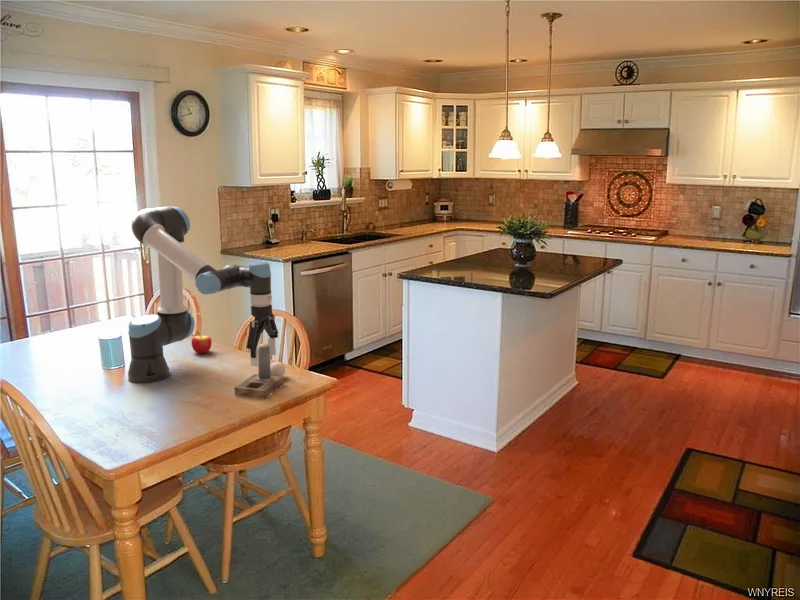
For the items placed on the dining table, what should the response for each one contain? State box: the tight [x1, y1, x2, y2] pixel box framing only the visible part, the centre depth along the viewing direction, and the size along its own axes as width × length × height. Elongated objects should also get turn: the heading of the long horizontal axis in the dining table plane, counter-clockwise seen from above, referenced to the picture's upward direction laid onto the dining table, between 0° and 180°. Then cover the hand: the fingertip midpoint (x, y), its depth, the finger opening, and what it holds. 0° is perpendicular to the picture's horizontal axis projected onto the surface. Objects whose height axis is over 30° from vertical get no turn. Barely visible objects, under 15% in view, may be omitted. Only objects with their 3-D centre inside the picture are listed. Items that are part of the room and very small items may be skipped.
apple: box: [191, 331, 212, 355], centre depth 277 cm, size 8×8×10 cm
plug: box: [257, 343, 271, 380], centre depth 238 cm, size 4×4×13 cm
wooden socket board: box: [234, 373, 285, 400], centre depth 236 cm, size 12×15×3 cm
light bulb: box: [270, 361, 286, 377], centre depth 247 cm, size 7×7×11 cm
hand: (263, 360), depth 238 cm, fingers open, 13 cm apart
